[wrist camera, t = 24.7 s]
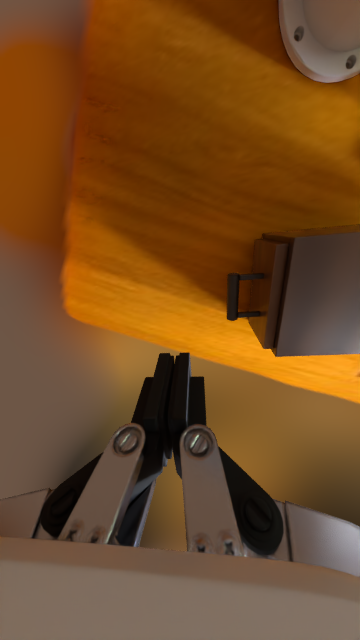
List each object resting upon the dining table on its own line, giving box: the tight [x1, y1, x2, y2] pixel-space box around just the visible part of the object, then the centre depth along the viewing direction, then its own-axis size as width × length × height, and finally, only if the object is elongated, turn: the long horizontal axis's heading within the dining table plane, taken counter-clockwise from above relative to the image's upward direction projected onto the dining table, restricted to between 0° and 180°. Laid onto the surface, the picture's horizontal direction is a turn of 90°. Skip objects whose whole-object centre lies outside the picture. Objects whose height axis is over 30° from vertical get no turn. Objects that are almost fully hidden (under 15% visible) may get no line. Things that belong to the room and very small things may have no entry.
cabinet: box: [262, 224, 360, 357], centre depth 24 cm, size 16×14×9 cm
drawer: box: [227, 239, 290, 349], centre depth 24 cm, size 19×12×7 cm, turn 95°
